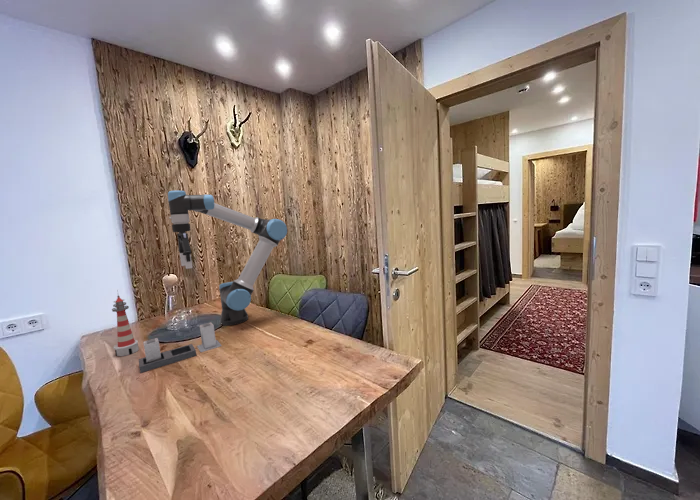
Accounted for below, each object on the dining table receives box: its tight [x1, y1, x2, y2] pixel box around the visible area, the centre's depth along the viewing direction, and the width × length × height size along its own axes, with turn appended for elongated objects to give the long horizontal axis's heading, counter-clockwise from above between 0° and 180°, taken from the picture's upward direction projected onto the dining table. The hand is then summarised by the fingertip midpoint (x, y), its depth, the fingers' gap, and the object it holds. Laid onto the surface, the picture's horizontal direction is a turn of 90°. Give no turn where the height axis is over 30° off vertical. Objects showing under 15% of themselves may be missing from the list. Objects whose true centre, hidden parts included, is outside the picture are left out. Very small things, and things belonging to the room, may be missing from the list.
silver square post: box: [143, 337, 162, 364], centre depth 120 cm, size 5×5×10 cm
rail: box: [138, 343, 197, 374], centre depth 124 cm, size 20×9×3 cm, turn 128°
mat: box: [196, 339, 223, 353], centre depth 136 cm, size 9×9×1 cm
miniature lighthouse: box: [111, 289, 139, 357], centre depth 134 cm, size 9×9×30 cm
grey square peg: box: [199, 322, 217, 349], centre depth 135 cm, size 5×5×10 cm
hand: (186, 267), depth 142 cm, fingers open, 13 cm apart
